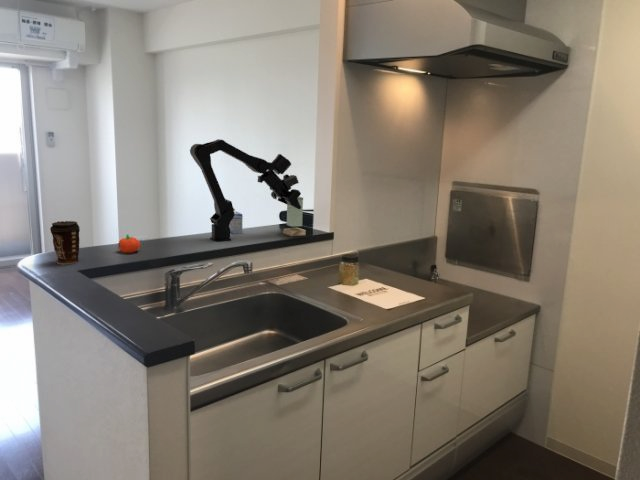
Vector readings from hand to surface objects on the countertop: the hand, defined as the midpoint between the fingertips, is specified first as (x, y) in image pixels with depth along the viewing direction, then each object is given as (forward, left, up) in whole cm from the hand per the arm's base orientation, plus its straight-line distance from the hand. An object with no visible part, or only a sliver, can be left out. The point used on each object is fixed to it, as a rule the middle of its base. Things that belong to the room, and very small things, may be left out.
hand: (297, 207), depth 225 cm
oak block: (-1, 0, -12) cm, 12 cm away
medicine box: (-22, +15, -12) cm, 29 cm away
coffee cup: (-92, -9, -12) cm, 93 cm away
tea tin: (-1, 0, -8) cm, 8 cm away
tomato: (-71, -3, -12) cm, 72 cm away
